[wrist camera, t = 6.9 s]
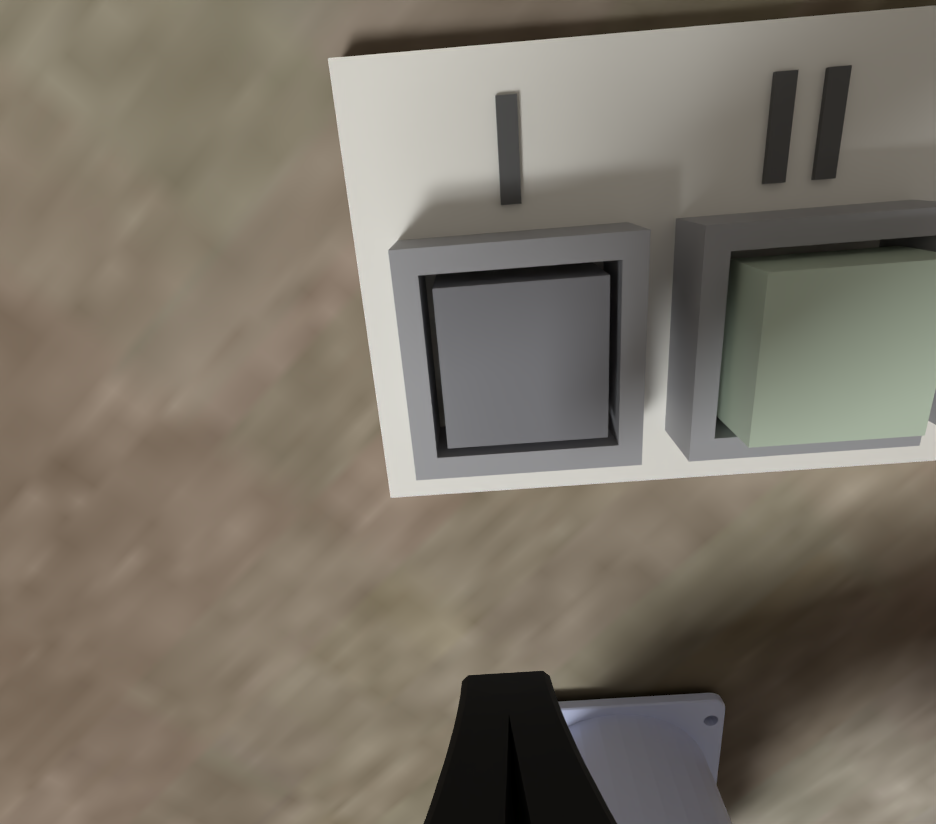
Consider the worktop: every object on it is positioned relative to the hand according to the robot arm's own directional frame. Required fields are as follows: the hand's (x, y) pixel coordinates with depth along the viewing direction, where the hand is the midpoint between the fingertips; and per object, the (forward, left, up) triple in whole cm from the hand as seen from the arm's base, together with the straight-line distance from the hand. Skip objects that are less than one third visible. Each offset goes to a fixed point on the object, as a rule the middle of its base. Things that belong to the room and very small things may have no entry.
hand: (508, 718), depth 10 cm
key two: (+4, -8, -7) cm, 11 cm away
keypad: (+5, -8, -9) cm, 13 cm away
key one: (+4, -1, -8) cm, 9 cm away
